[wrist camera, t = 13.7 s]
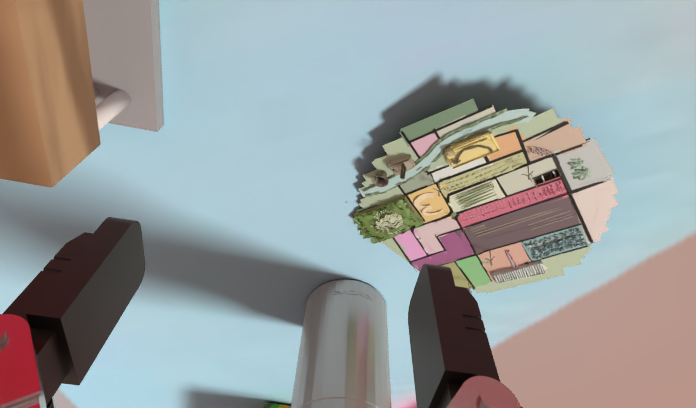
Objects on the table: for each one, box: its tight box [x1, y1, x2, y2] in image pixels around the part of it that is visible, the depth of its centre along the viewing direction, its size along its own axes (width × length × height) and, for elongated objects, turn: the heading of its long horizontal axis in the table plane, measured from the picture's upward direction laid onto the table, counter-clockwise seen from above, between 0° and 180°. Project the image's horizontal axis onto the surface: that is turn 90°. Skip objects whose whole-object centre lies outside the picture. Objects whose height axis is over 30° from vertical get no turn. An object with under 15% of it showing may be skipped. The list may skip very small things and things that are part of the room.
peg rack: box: [83, 0, 164, 132], centre depth 32 cm, size 16×8×8 cm, turn 169°
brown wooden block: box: [0, 0, 100, 187], centre depth 26 cm, size 4×13×6 cm, turn 169°
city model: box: [346, 99, 619, 293], centre depth 42 cm, size 25×23×6 cm
